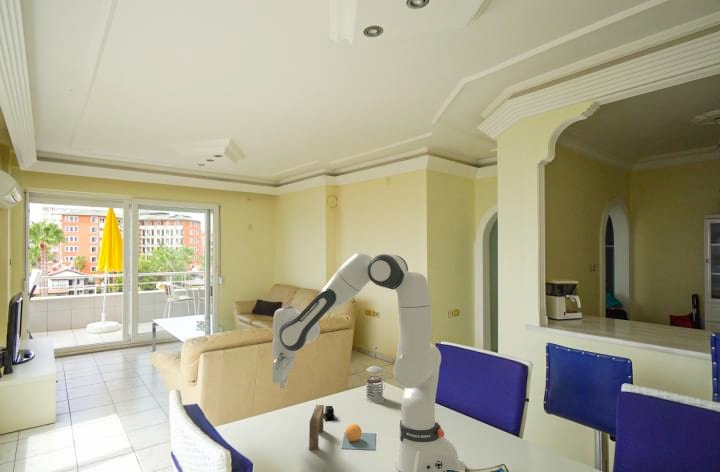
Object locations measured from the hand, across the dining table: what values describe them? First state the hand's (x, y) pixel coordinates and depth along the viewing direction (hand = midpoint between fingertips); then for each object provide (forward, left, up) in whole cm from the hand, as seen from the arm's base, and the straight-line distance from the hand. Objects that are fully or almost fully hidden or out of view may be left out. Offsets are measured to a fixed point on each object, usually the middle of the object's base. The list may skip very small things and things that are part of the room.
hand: (283, 386), depth 144 cm
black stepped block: (-15, -19, -20) cm, 32 cm away
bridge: (-13, 0, -19) cm, 23 cm away
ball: (-27, 0, -16) cm, 31 cm away
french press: (-35, -40, -19) cm, 57 cm away
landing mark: (-29, 0, -19) cm, 35 cm away
